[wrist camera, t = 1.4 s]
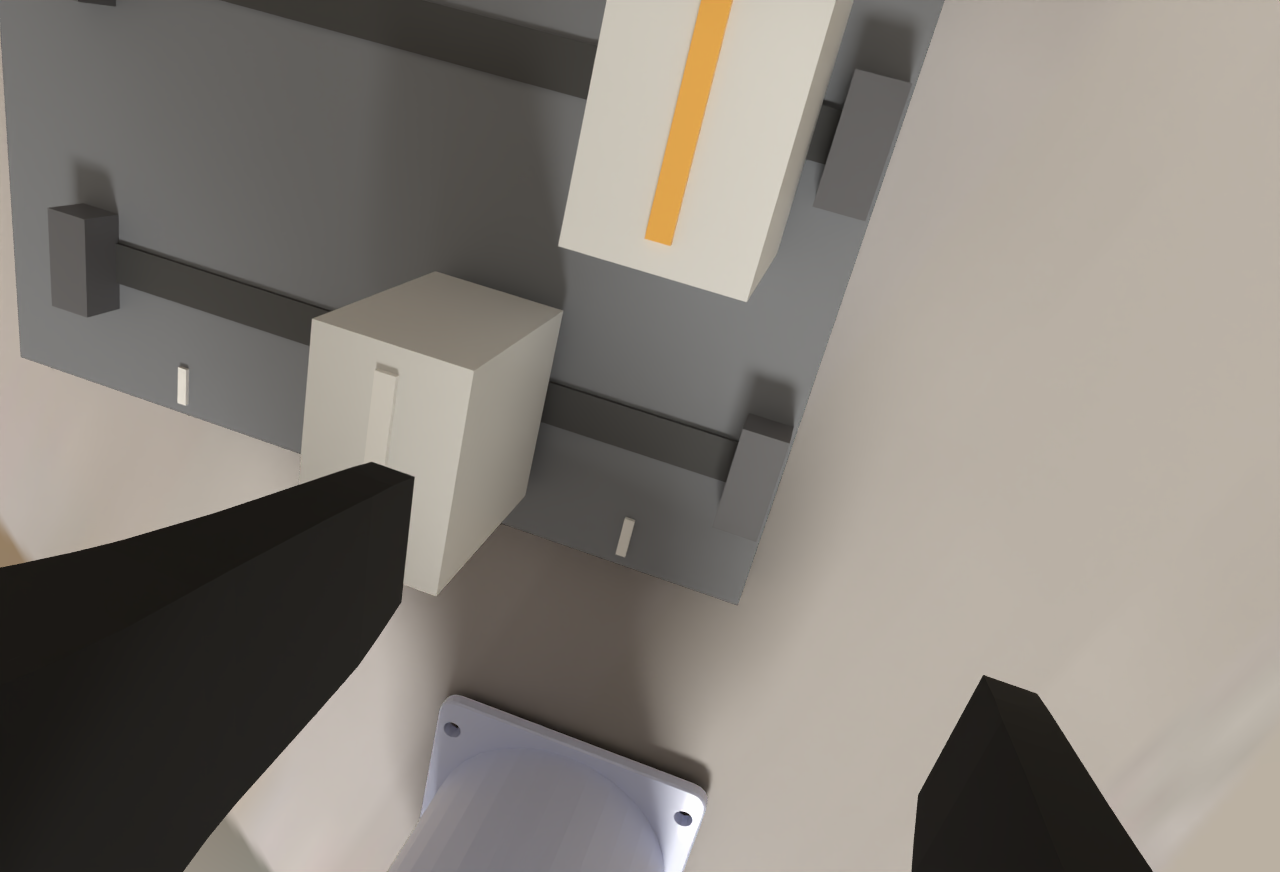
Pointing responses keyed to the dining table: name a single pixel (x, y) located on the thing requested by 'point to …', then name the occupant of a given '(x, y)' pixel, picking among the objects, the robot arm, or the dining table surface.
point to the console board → (422, 235)
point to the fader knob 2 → (699, 134)
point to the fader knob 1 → (433, 406)
